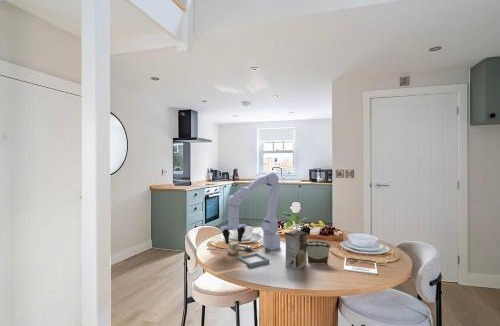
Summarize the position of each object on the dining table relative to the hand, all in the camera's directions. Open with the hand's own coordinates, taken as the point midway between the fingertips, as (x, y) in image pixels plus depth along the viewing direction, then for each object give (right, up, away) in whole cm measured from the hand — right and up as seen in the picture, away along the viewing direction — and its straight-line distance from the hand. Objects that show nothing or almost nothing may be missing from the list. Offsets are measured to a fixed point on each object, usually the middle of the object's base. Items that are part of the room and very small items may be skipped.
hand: (233, 242), depth 156 cm
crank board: (+3, -6, +4) cm, 8 cm away
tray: (+11, -6, -12) cm, 17 cm away
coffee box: (+31, -7, -17) cm, 36 cm away
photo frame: (+63, -7, -16) cm, 65 cm away
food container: (+43, -7, -11) cm, 45 cm away
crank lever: (+5, -4, +5) cm, 8 cm away
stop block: (0, -5, 0) cm, 5 cm away
